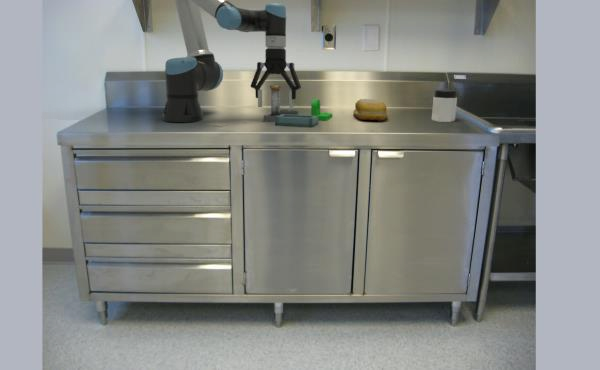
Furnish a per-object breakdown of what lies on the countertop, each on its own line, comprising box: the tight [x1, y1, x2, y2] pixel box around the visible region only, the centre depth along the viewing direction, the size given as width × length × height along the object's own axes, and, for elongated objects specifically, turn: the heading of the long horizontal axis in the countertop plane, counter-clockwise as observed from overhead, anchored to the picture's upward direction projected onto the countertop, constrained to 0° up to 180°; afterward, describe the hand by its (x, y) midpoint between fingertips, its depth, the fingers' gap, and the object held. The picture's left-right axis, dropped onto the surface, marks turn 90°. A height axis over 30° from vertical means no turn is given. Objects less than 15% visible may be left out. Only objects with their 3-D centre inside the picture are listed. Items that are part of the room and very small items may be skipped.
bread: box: [352, 98, 389, 122], centre depth 201 cm, size 13×26×8 cm, turn 179°
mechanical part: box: [310, 99, 333, 122], centre depth 197 cm, size 12×6×8 cm, turn 162°
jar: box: [431, 89, 458, 123], centre depth 194 cm, size 9×8×12 cm
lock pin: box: [269, 84, 282, 116], centre depth 189 cm, size 4×4×13 cm
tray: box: [274, 114, 319, 128], centre depth 179 cm, size 13×9×3 cm
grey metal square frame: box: [263, 113, 282, 123], centre depth 190 cm, size 7×7×2 cm
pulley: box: [280, 105, 299, 115], centre depth 201 cm, size 9×9×4 cm
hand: (275, 107), depth 189 cm, fingers open, 12 cm apart
